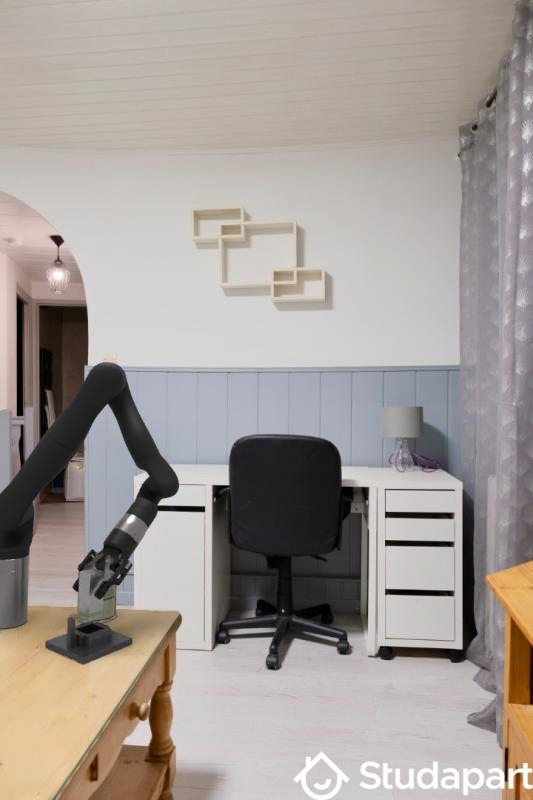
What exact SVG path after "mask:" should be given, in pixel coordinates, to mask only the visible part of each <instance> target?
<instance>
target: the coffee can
mask: <svg viewBox="0 0 533 800" xmlns="http://www.w3.org/2000/svg"><path fill="white" fill-rule="evenodd" d="M81 563H82V562H81ZM81 563H79V564H78V565H77V568H78V567H79V565H80V564H81ZM95 565H96V564H95ZM95 565H94V567H95V568H96V566H95ZM86 566H87V564H86V565H85V566H84V567H83V568H85V567H86ZM79 572H80V571H79V570H78V576H77V578H78V577H79ZM104 581H105V573H104ZM117 587H118V586H117V585H113V586H111V587H110V588H109V590H108V591H107V593H106V594H105V596H104V597H103V617H102V618H99V619H96V620H93V621H92V622H94V623H95V622H100V623H102V624H105V623H108V622H110V621H113V620H114V619H115V618H116V617H117V597H118V595H117V592H118V591H117V590H118V589H117ZM78 597H79V592H77V598H78ZM76 614H78V605H77V611H76ZM76 621H78V622H80V623H81V624H83V623H86V622H87V621H85V620H82V619H77V620H76Z"/></svg>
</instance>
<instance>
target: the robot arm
mask: <svg viewBox="0 0 533 800" xmlns="http://www.w3.org/2000/svg"><path fill="white" fill-rule="evenodd" d="M107 405H108V407H109V408H110V410H111V412H112V413H113V415H114V417H115V420H116V423H117V424H118V428H119V430H120V433H121V436H122V439H123V441H124V444H125V446H126V448H127V451H128V453H129V454H130V456H131V458H132V460H133V462H134V464H135V466H136V467H137V468H138V469H139V470H141V471H145V473H147V475H148V477H147V478H146V479H145V480H144V481H143V482H142V484H141V485H140V488H139V490H138V492H137V494H136V497H135V499H134V501H133V502H132V504H131V505H130V507H128V509H127V510H126V512H125V513H124V515H122V517H121V518H120V519H119V520H118V522H117V523H116V524H115V525H114V527H113V528H112V530H111V531H110V532H109V533H108V535H107V537H105V539H104V541H103V543H102V546H103V548H102V549H101V550H100V551H95V550H94V549H93V548H91V550H90V551H89V552H88V553H87V555H86V556H85V558H84V559H83V560H82V562H81V564H80V563H79V564H80V565H79V564H78V565H79V567H78V566H77V570H78V571H84V570H88V569H92V568H94V569H98V570H101V571H104V573H105V581H102V583H101V584H100V586H99V587H98V589H97V590H96V591H95V593H94V596H95V597H96V598H97V599H99V600H101V599H102V598H103V597H104V596H105V594H106V593H107V591H108V590H109V588H110V587H111V586H113V585H117V587H118V586H120V585H121V584H122V583H123V581H124V579H126V576H127V575H128V573H129V572H130V571H131V568H132V567H133V563H132V562H131V561H130V560H129V559H130V558H131V557H132V555H133V553H134V552H135V550H136V549H137V548H138V546H139V545H140V543H141V541H142V540H143V539H144V537H145V535H146V533H147V532H148V530H149V528H150V527H151V525H152V524H153V522H154V520H155V519H156V518H157V515H158V513H159V511H158V510H159V509H158V506H159V504H160V503H161V501H162V500H164V499H168V498H173V497H174V496H176V494H177V493H178V491H179V488H180V480H179V477H178V475H177V473H176V472H175V471H174V469H173V468H172V466H171V465H170V463H168V461H167V460H166V459H165V457H164V456H162V454H161V452H160V450H159V448H158V446H157V444H156V442H155V441H154V438H153V436H152V435H151V433H150V431H149V429H148V427H147V425H146V423H145V421H144V419H143V418H142V416H141V414H140V412H139V410H138V407H137V405H136V403H135V401H134V398H133V395H132V393H131V390H130V386H129V382H128V379H127V374H126V371H125V369H124V368H122V366H121V365H119V364H116V363H114V362H108V361H103V362H99V363H98V364H95V365H94V366H92V368H91V369H90V371H89V373H88V374H87V376H86V377H85V380H84V381H83V382H82V385H81V386H80V388H79V389H78V391H77V393H76V395H75V396H74V398H73V399H72V400H71V402H70V403H69V404H68V405H67V406H66V408H65V409H64V410H63V411H62V412H61V413H60V415H58V417H57V418H56V419H55V421H54V422H52V424H51V425H50V426H49V427H48V429H47V430H46V432H45V433H44V434H43V435H42V437H41V438H40V440H39V441H38V443H37V444H36V445H35V447H34V448H33V450H32V451H31V452H30V454H29V456H28V457H27V459H26V460H25V461H24V463H23V464H22V466H21V468H20V469H19V471H18V472H17V473H16V475H15V476H14V477H13V479H12V480H11V481H10V482H9V484H7V485H6V487H4V489H3V490H1V491H0V630H1V629H11V628H16V627H19V626H22V625H23V624H25V623H27V621H28V610H29V609H28V606H29V583H30V582H29V580H30V578H29V577H30V575H29V574H30V554H31V553H30V552H31V551H30V550H31V547H32V546H31V545H32V542H33V538H34V524H35V506H34V501H35V500H36V498H37V497H38V495H39V494H40V493H41V492H42V490H43V489H44V488H45V487H46V486H47V485H49V483H51V482H52V481H53V480H54V479H55V478H56V477H58V475H59V474H60V473H61V472H62V471H63V470H64V469H65V468H66V466H68V465H69V463H70V462H71V461H72V460H73V458H74V457H75V455H76V454H77V452H78V451H79V450H80V448H81V447H82V445H83V443H84V441H85V440H86V438H87V436H88V435H89V433H90V430H91V428H92V426H93V424H94V422H95V420H96V418H97V417H98V415H100V413H101V412H102V411H103V410H104V409H105V408H106V406H107ZM86 564H87V566H86V567H85V568H83V567H84V566H85V565H86ZM95 564H96V565H95ZM94 565H95V566H96V568H95V567H94ZM72 589H73V590H74V591H75V592H76V593H78V592H79V577H78V576H77V579H76V580H75V581H74V582H73V584H72Z"/></svg>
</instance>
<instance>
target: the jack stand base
mask: <svg viewBox="0 0 533 800" xmlns="http://www.w3.org/2000/svg"><path fill="white" fill-rule="evenodd" d="M77 619H80V615H79V614H77V612H76V613H73V614H69V615H68V617H67V627H66V632H67V633H66V634H62V635H58V636H57V637H54V638H51V639H47V640H45V645H44V648H45V647H46V648H45V649H47V648H48V650H50V651H51V652H52V651H53V652H54V653H56V654H59V655H61V656H63V657H65V656H66V658H67V657H68V658H67V659H69V660H72V659H73V660H72V661H74V660H75V662H76V661H77V662H76V663H79V664H81V665H85V664H87V662H88V663H90V662H92V660H93V661H95V660H97V659H100V658H103V657H104V656H107V655H109V654H112V653H114V651H115V652H116V651H120V650H121V649H122V650H123V649H124V648H126V647H129V646H131V644H132V645H133V637H131V636H129V635H126V634H123V633H120V632H119V631H118V632H117V631H115V630H113V629H112V628H111V626H109V625H108V624H105V623H100V622H95V623H94V622H92V621H90V622H86V623H80V624H78V625H77V624H76V621H78V620H77Z"/></svg>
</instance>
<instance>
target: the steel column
mask: <svg viewBox="0 0 533 800" xmlns="http://www.w3.org/2000/svg"><path fill="white" fill-rule="evenodd" d="M78 573H79V597H78V596H77V606H78V614H79V615H80V619H82V620H85V621H87V622H90V621H93V620H96V619H99V618H102V617H103V598H102V599H101V600H99V599H97V598H96V597H95V596H94V593H95V591H96V590H97V589H98V587H99V586H100V584H101V583H102V581H104V571H101V570H98V569H94V568H92V569H88V570H84V571H80V572H78Z"/></svg>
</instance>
